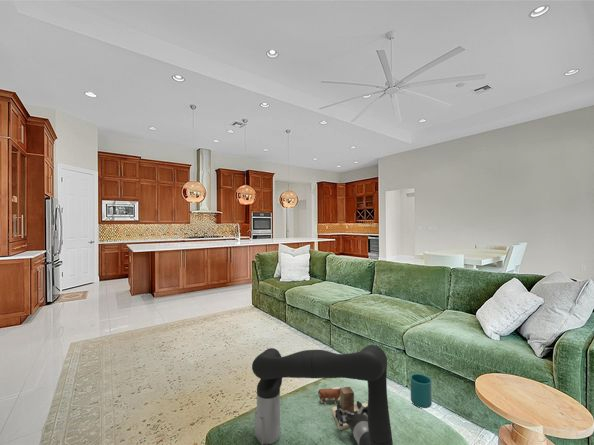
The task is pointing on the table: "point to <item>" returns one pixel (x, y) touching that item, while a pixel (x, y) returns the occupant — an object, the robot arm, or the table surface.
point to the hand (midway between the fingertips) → (347, 404)
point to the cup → (421, 390)
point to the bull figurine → (329, 394)
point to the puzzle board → (345, 426)
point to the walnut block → (347, 399)
